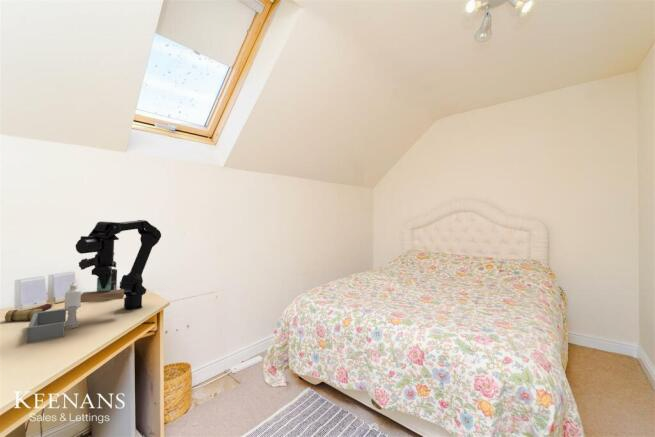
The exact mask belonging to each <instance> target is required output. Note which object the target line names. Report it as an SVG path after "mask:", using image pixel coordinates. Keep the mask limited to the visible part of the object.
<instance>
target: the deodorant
mask: <svg viewBox="0 0 655 437" xmlns="http://www.w3.org/2000/svg"><path fill="white" fill-rule="evenodd" d="M114 269H115V270H114V272H113V274H112V276H111V289H110V290H117V284H118V283H117V282H118V269H116V268H114ZM105 301H107V302H108V301H109V300H105ZM105 301H104V302H105Z"/></svg>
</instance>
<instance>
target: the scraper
mask: <svg viewBox="0 0 655 437" xmlns="http://www.w3.org/2000/svg"><path fill="white" fill-rule="evenodd" d="M110 289H111V277H110V279H109V281H108V283H107V285H106V287H105V289H102V288H101V284H100V280H99V277H98V276H97V278H96V290H95V291H84V292H81V300H80V303H81V304H82V303H92V302H93V303H94V302H102V301H103V302H105V300H108V301H115V300H124V298H125V295H124V289H120V288H119V289H116V290H110Z"/></svg>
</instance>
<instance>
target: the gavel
mask: <svg viewBox="0 0 655 437" xmlns="http://www.w3.org/2000/svg"><path fill="white" fill-rule="evenodd" d="M53 306H54V303H46V304H45V303H44V304H43V305H40V306H37V307H33V308H32V309H27V310H25V309H24V310H18V309H11V310H8V311H7V312H6V313H5V315H4V321H5V322H6V323H10V322H11V323H12V322H15V321H16V322H19V321H21V322H22V321H31V319H32V317H33V314H34V313H36V312H44V311H48V310H50V309H51V308H52V307H53Z"/></svg>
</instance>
